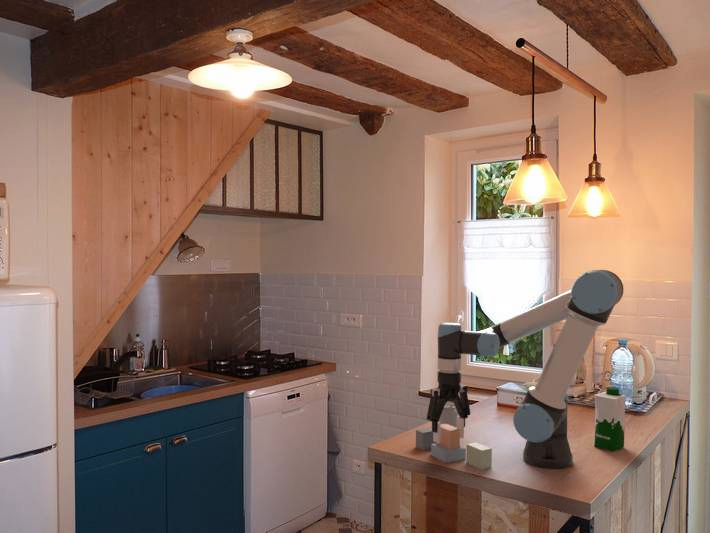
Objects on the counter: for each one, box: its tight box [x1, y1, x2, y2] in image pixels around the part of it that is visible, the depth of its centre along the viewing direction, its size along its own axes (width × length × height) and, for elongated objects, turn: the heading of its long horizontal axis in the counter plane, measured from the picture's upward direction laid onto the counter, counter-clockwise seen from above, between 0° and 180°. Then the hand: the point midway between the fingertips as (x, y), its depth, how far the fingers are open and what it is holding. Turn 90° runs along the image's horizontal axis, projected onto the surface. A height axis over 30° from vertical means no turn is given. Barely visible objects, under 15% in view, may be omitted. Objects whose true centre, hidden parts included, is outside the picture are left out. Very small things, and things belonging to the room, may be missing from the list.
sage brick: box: [465, 441, 493, 470], centre depth 188 cm, size 7×4×6 cm, turn 31°
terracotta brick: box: [436, 424, 461, 449], centre depth 196 cm, size 7×4×6 cm, turn 32°
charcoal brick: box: [415, 426, 436, 451], centre depth 205 cm, size 7×4×6 cm, turn 121°
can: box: [438, 403, 459, 428], centre depth 215 cm, size 8×8×12 cm
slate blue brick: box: [430, 443, 467, 463], centre depth 195 cm, size 8×8×4 cm
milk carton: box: [593, 386, 627, 453], centre depth 206 cm, size 9×9×20 cm
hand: (448, 439), depth 196 cm, fingers open, 9 cm apart
